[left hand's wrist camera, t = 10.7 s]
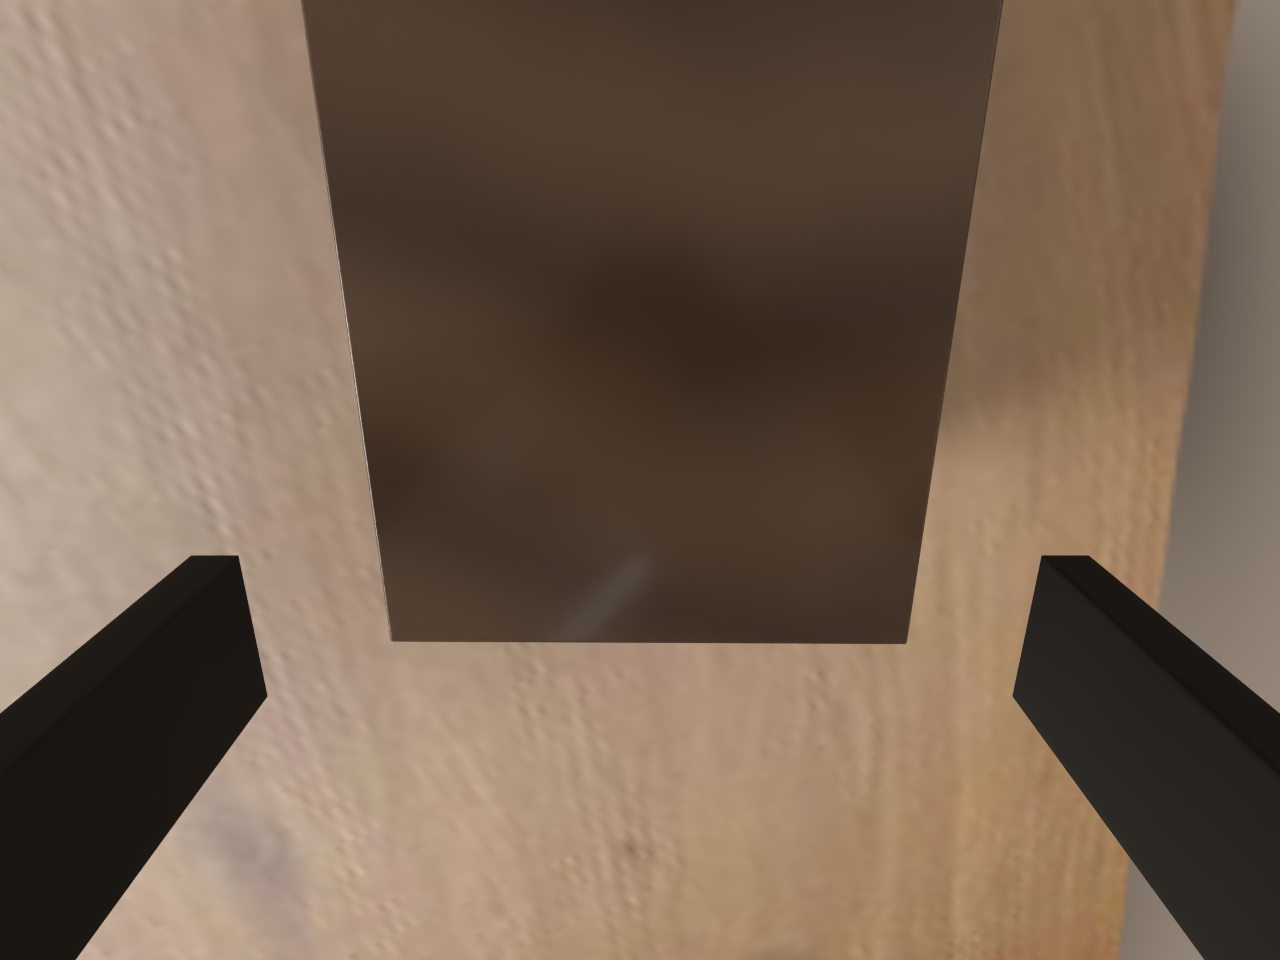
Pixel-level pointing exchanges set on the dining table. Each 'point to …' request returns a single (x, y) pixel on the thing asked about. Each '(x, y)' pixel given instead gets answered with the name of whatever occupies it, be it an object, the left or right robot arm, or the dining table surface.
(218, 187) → the dining table surface
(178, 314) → the dining table surface
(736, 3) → the cabinet
